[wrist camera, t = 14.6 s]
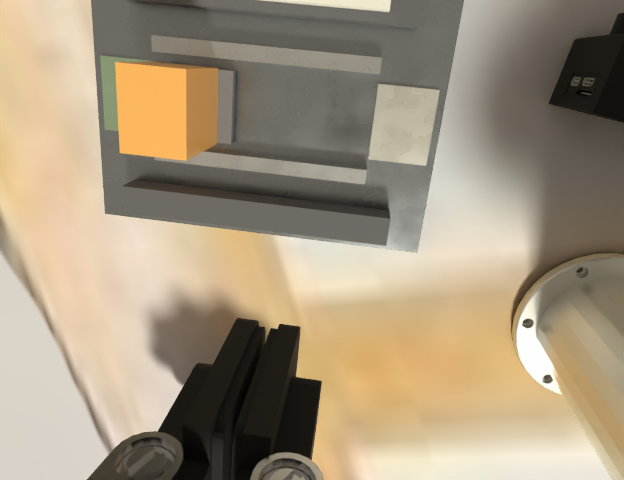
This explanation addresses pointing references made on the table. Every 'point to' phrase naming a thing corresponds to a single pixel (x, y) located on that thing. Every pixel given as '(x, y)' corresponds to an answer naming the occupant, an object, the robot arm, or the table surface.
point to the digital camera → (594, 75)
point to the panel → (293, 106)
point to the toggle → (173, 108)
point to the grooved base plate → (269, 209)
